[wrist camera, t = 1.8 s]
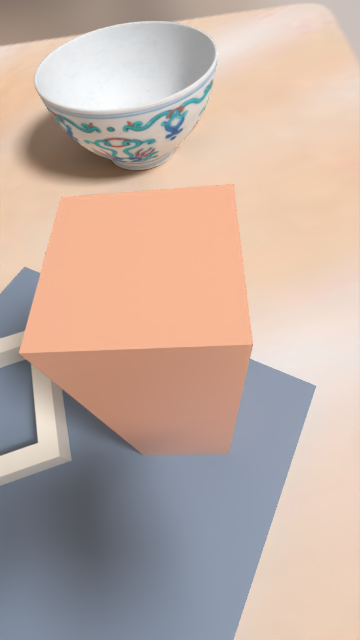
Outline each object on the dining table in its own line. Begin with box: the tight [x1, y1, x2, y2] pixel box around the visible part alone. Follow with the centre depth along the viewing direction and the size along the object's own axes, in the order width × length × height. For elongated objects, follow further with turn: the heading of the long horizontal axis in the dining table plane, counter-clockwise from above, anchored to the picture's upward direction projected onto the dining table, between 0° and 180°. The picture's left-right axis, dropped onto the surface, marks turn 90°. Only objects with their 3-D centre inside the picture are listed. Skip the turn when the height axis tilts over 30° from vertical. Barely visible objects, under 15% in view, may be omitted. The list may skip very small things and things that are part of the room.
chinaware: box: [34, 21, 218, 170], centre depth 30 cm, size 15×15×8 cm
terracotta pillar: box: [19, 184, 253, 455], centre depth 13 cm, size 4×4×13 cm
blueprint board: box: [0, 267, 316, 640], centre depth 19 cm, size 17×22×1 cm
